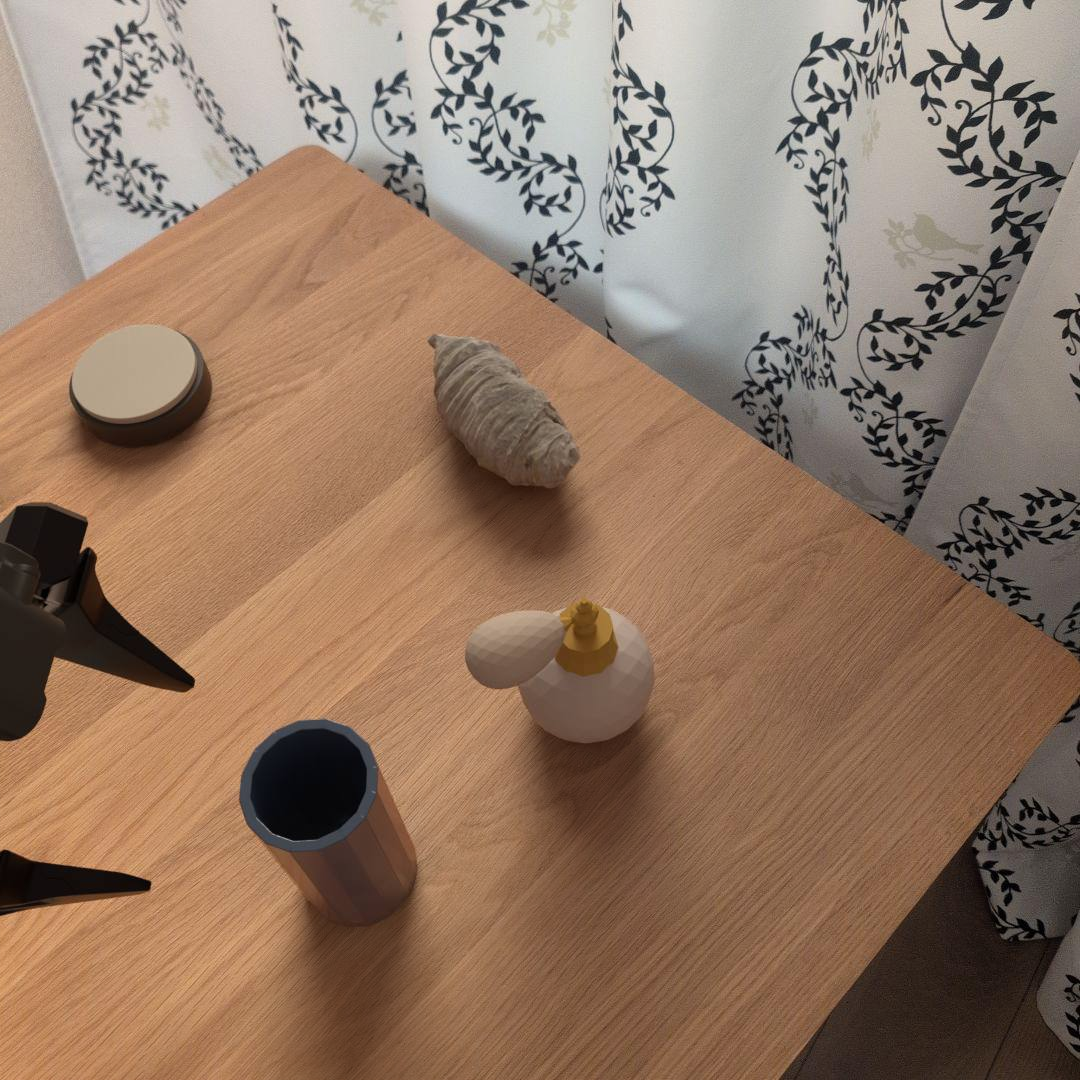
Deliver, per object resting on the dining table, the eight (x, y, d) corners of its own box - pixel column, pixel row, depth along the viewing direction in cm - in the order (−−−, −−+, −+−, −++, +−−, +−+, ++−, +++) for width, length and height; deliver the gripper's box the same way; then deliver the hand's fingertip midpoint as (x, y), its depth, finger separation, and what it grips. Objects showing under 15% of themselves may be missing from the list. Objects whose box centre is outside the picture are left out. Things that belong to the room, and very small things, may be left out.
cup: (326, 947, 59) (263, 875, 48) (289, 842, 62) (222, 752, 51) (434, 895, 60) (398, 814, 49) (392, 795, 63) (349, 697, 52)
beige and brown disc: (97, 466, 76) (82, 442, 73) (67, 372, 80) (52, 347, 78) (228, 417, 77) (217, 393, 75) (191, 328, 82) (180, 302, 80)
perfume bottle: (678, 690, 66) (693, 586, 55) (570, 819, 62) (565, 733, 52) (576, 617, 68) (572, 505, 58) (467, 737, 65) (442, 640, 54)
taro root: (478, 312, 78) (472, 270, 70) (591, 476, 76) (598, 453, 68) (399, 363, 77) (384, 327, 69) (511, 529, 76) (509, 512, 68)
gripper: (-284, 891, 32) (222, 984, 40) (-69, 369, 42) (300, 534, 50) (-354, 947, 39) (88, 1016, 48) (-157, 491, 49) (180, 617, 57)
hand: (170, 782), depth 50 cm, fingers open, 9 cm apart
